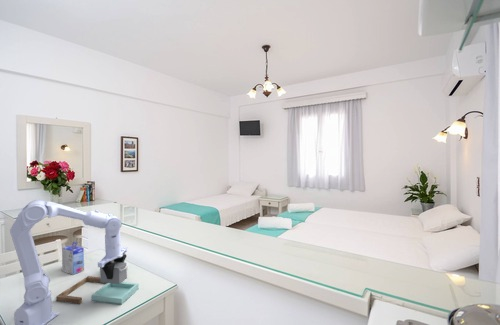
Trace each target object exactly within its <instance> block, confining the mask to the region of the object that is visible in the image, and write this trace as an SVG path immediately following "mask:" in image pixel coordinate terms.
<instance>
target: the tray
mask: <svg viewBox="0 0 500 325" xmlns="http://www.w3.org/2000/svg"><path fill="white" fill-rule="evenodd" d="M138 290H139V283H134V282H126V281H123V282H122V283H120V284H112V283H107V284H104V285H103V286H102V287H101V288H98V289H97V290H96V291H95V292H93V293H92V294H91V296H90V297H91V302H96V303H97V302H98V303H105V304H112V305H124V304H125V302H127V301H128V300H129V298H131V297H132V296H133V295H134V294H135V293H136V292H137V291H138Z"/></svg>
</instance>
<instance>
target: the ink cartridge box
mask: <svg viewBox="0 0 500 325" xmlns="http://www.w3.org/2000/svg"><path fill="white" fill-rule="evenodd" d="M74 244H75V245H74ZM84 249H85V248H84V247H83V246H80V245H79V244H78V242H76V241H73V242H72V244H70V245H68V246H64V247H62V248H61V262H62V263H61V264H62V265H61V269H62V270H61V271H62V272H65V273H68V274H71V275H72V276H73V275H76V274H78V273H81V272H84V271H85V260H84V259H85V258H84V257H85V256H84V255H85V254H84V253H85V250H84Z"/></svg>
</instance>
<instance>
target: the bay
mask: <svg viewBox="0 0 500 325" xmlns="http://www.w3.org/2000/svg"><path fill="white" fill-rule="evenodd" d="M87 282H88V283H95V284H104V285H106V284H107V283H102V282H101V280H100V276H92V275H88V276H85V278H83V279H81V280H80V281H78V282H77V283H75V284H73V285H72V286H70V287H69V288H66V290H64V291H63V292H61V293H59V294H58V295H56V296H55V298H56V302H61V303H68V304H69V303H70V304H74V305H75V304H77V305H81V304H82V303H83V297H82V296H72V295H70V294H71V293H73V291H75V290H77V289H78V288H80V287H81V286H83V285H85V284H86V283H87Z"/></svg>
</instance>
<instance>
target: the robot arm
mask: <svg viewBox="0 0 500 325" xmlns="http://www.w3.org/2000/svg"><path fill="white" fill-rule="evenodd" d="M47 216H48V217H47ZM57 216H60V217H64V218H65V217H66V218H70V219H74V220H79V221H82V222H83V224H84V225H86V226H90V227H94V228H98V229H104V230H105V231H104V233H105V234H104V245H105V247H104V248H105V255H104V256H103V257H102V259H100V260H99V262H97V268H99V269H100V268H102V269H103V270H104V272H105V274H106V277H107V279H112V278H113V269H114V265H115V263H112V262H111V261H112V260H114V262H124V260H126V258H127V254H124V252H125V253H127V252H128V247H125V246H124V247H122V239H121V238H122V237H121V236H122V235H121V234H122V233H121V228H122V223H121V220H120V219H119V217H118V216H115V215H114V214H110V213H108V214H106V213H102V212H100V210H98V209H95V210H92V209H91V210H90V211H84V210H80V209H76V208H74V207H72V206H71V207H70V206H68V205H64V204H60V203H57V202H55V201H49V200H48V201H45V200H43V199H35V200H32V201H30V202H29V203H28V204H26V205H25V206H24V207H23V208H22V209H21V211H20V212H19V213H18V215H17V217H16V218H15V220H14V222H13V224H12V225H11V227H10V229H9V232H10V233H9V234H10V235H11V237H10V238H11V239H12V243H13V245H14V249H15V253H16V255H17V259H18V262H19V266H20V268H21V269H20V270H21V272H22V275H23V279H24V281H23V282H24V290H25V291H24V294H23V299H24V300H23V303H22V305H21V306H19V307H18V308H17V309H16V310H15V311H14V313H13V314H14V317H13V318H14V325H46V324H47V323H49V322H50V321H52V320H54V318H56V317H57V316H59V314H60V313H59V312H54V311H53V305H52V304H53V302H52V301H53V300H52V290H50V289H49V286H50V282H51V279H50V277H49V275H47V274H46V273H45V270H44V269H43V268H42V266H41V261H40V258H39V255H38V252H37V248H36V244H35V240H34V238H33V235H32V231H31V230H32V229H33V227H34V226H35V225H36V224H37V223H40V222H41V221H42V220H44V219H45V218H46V217H47V218H48V219H51V218H54V217H57ZM124 263H125V262H124Z"/></svg>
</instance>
